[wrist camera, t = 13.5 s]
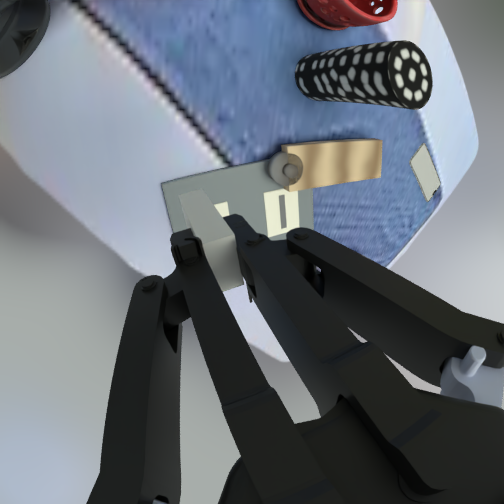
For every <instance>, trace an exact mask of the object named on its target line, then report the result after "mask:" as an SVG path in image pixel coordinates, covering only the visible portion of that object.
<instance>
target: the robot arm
mask: <svg viewBox="0 0 504 504" xmlns="http://www.w3.org/2000/svg"><path fill="white" fill-rule="evenodd" d="M49 18H50V5H49V2H48V0H0V78H1V77H3V76H6V75H8V74H9V73H11V72H13V71H14V70H15V69H17V68H18V67H19V66H20V65H22V64H23V63H24V62H25V61H26V60H27V59H28V58H29V56H30V55H31V54H32V53H33V52H34V50H35V49H36V48H37V46H38V45H39V43H40V41H41V40H42V38H43V36H44V34H45V31H46V29H47V26H48V23H49ZM179 199H180V202H181V206H182V210H183V214H184V218H185V221H186V225H187V229H185V230H182V231H178V232H175V233H173V234H172V236H171V238H170V241H171V245H172V246H171V252H172V255H173V258H174V261H175V264H176V269H175V270H174V272H173V273H172V274H171V275H169V276H168V277H166V278H164V279H163V278H162V277H161V276H158V275H151V276H147V277H145V278H143V279H141V280H140V281H139V282H138V283H137V284H136V286H135V288H134V290H133V294H132V297H131V301H130V305H129V309H128V312H127V317H126V320H125V324H124V328H123V332H122V336H121V340H120V345H119V349H118V354H117V358H116V363H115V368H114V373H113V378H112V383H111V389H110V395H109V400H108V407H107V413H106V420H105V427H104V435H103V443H102V453H101V464H100V473H99V476H98V478H97V480H96V483H95V485H94V487H93V489H92V492H91V494H90V496H89V499H88V501H87V503H86V504H179V502H180V496H181V466H180V465H181V464H180V370H181V345H182V322H183V321H185V320H186V319H188V318H190V317H191V318H192V321H193V325H194V328H195V331H196V334H197V337H198V340H199V343H200V346H201V349H202V352H203V355H204V358H205V361H206V364H207V367H208V369H209V372H210V375H211V378H212V380H213V383H214V386H215V389H216V391H217V394H218V397H219V399H220V402H221V405H222V410H223V413H224V416H225V419H226V421H227V423H228V426H229V428H230V431H231V433H232V436H233V438H234V440H235V443H236V445H237V448H238V450H239V452H240V455H241V457H240V458H239V459H238V460H237V461H236V463H235V464H234V466H233V467H232V469H231V471H230V472H229V475H228V477H227V480H226V483H225V485H224V488H223V491H222V494H221V497H220V499H219V502H218V504H504V410H503V409H501V405H502V397H503V387H504V324H502V323H499V322H495V321H492V320H489V319H485V318H482V317H478V316H475V315H472V314H468V313H465V312H462V311H460V310H459V309H457V308H455V307H454V306H452V305H450V304H449V303H447V302H445V301H444V300H442V299H440V298H439V297H437V296H435V295H433V294H431V293H430V292H428V291H426V290H425V289H423V288H421V287H419V286H418V285H416V284H414V283H412V282H411V281H409V280H407V279H405V278H403V277H402V276H400V275H398V274H396V273H394V272H393V271H391V270H389V269H387V268H385V267H383V266H381V265H380V264H378V263H376V262H374V261H372V260H370V259H368V258H367V257H365V256H363V255H361V254H359V253H357V252H355V251H353V250H351V249H349V248H347V247H346V246H344V245H342V244H340V243H338V242H336V241H334V240H332V239H330V238H328V237H326V236H324V235H322V234H320V233H318V232H316V231H314V230H312V229H309V228H304V227H299V228H294V229H291V230H290V231H288V232H287V234H286V239H284V240H270V239H269V238H268V237H267V236H266V235H264V234H261V233H256V231H255V230H254V229H253V228H252V227H251V226H250V225H249V223H248V222H247V221H246V220H245V219H244V218H243V216H241V215H238V214H232V215H229V216H225V217H222V216H221V215H220V213H219V212H218V210H217V209H216V208H215V206H214V205H213V203H212V202H211V201H210V199H209V198H208V196H207V195H206V193H205V192H204V191H203V189H199V190H195V191H192V192H188V193H185V194H181V195H179ZM316 266H317V267H319V268H320V269H321V272H320V271H318V270H316ZM243 277H244V279H245V281H246V284H247V290H248V295H249V300H250V303H251V302H252V299H253V300H254V302H255V304H256V305H257V307H258V309H259V310H260V312H261V314H262V315H263V317H264V319H265V320H266V322H267V324H268V325H269V327H270V329H271V330H272V332H273V334H274V335H275V337H276V339H277V340H278V342H279V344H280V345H281V347H282V349H283V350H284V352H285V353H286V355H287V357H288V358H289V360H290V362H291V363H292V365H293V366H294V368H295V370H296V371H297V373H298V374H299V376H300V378H301V379H302V381H303V383H304V384H305V386H306V387H307V389H308V391H309V392H310V394H311V395H312V397H313V399H314V400H315V402H316V404H317V406H318V409H319V413H320V416H321V418H319V419H315V420H311V421H306V422H302V423H297V424H294V422H293V420H292V419H291V417H290V415H289V413H288V411H287V410H286V408H285V406H284V404H283V403H282V401H281V399H280V397H279V396H278V394H277V392H276V391H275V389H274V388H272V387H270V385H269V384H268V382H267V380H266V378H265V376H264V374H263V372H262V371H261V369H260V367H259V365H258V363H257V361H256V359H255V357H254V355H253V353H252V351H251V349H250V347H249V345H248V343H247V341H246V339H245V337H244V335H243V333H242V331H241V329H240V327H239V325H238V323H237V321H236V319H235V317H234V315H233V313H232V311H231V309H230V307H229V305H228V303H227V301H226V299H225V296H224V294H223V291H226V290H229V289H232V288H235V287H238V286H241V285H244V281H243ZM348 327H349V328H350V329H351V330H353V331H354V332H355V333H357V334H358V335H360V336H361V337H363V338H364V339H365V340H367V341H368V342H365V343H362V342H360V341H359V340H358V339H357V338H356V337H355V336H354V335H353V333H352V332H351V331H350V330H349V329H348ZM384 353H385V354H386V355H388V356H389V357H390V358H392V359H393V360H394V361H396V362H397V363H398V364H400V365H401V366H403V367H404V368H405V369H407V370H409V371H410V372H411V373H413V374H414V375H416V376H417V377H419V378H421V379H422V380H424V381H426V382H428V383H430V384H432V385H435V386H438V387H440V388H441V389H442V390H441V393H440V394H436V393H432V392H428V391H424V390H420V389H416V388H413V387H412V385H411V384H410V383H409V382H408V381H407V380H406V378H405V377H404V376H403V375H402V374H401V373H400V371H399V370H398V369H397V368H396V367H395V366H394V364H393V363H392V362H391V361H390V360H389V359H388V358H387V356H386V355H385V354H384Z"/></svg>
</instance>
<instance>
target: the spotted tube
mask: <svg viewBox="0 0 504 504" xmlns="http://www.w3.org/2000/svg"><path fill="white" fill-rule="evenodd" d="M295 79H296V83H297V86H298V88H299V89H300V91H301V92H302V93H303V94H304V95H305V96H306V97H308V98H310V99H312V100H316V101H337V102H353V103H365V104H375V105H384V106H392V107H399V108H406V109H413V110H417V109H420V108H422V107H424V106H425V105H426V103H427V102H428V100H429V98H430V96H431V92H432V72H431V68H430V65H429V63H428V60H427V58H426V56H425V55H424V53H423V52H422V50H421V49H420V48H419V47H418V46H416V45H415V44H414V43H412V42H410V41H405V40H403V41H391V42H381V43H372V44H365V45H358V46H351V47H346V48H340V49H335V50H329V51H325V52H320V53H315V54H311V55H307V56H305V57H303V58H302V59H301V60H300V61H299V63H298V64H297V66H296V70H295Z"/></svg>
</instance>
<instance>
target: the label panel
mask: <svg viewBox="0 0 504 504" xmlns="http://www.w3.org/2000/svg"><path fill="white" fill-rule="evenodd" d="M269 160H270V159H267V160H261V161H256V162H251V163H246V164H241V165H236V166H231V167H226V168H222V169H217V170H213V171H208V172H204V173H199V174H195V175H191V176H187V177H183V178H179V179H175V180H171V181H167V182H164V183H161V184H162V188H163V192H164V197H165V201H166V205H167V209H168V213H169V217H170V221H171V225H172V229H173V232H174V233H175V232H178V231H182V230H185V229H187V225H186V221H185V218H184V214H183V210H182V206H181V202H180V199H179V195H181V194H185V193H188V192H192V191H195V190H199V189H203V191H204V192H205V193H206V195H207V196H208V198H209V199H210V201H211V202H212V203H213V205H214V206H215V208H216V209H217V210H218V212H219V213H220V215H221V216H222V217H225V216H229V215H232V214H238V215H241V216H243V218H244V219H245V220H246V221H247V222H248V223H249V225H250V226H251V227H252V228H253V229H254V230H255V231H256V233H261V234H264V235H266V236H267V237H268V238H269V239H270V240H284V239H286V234H287V232H288V231H290V230H291V229H294V228H299V227H304V228H309V229H312V230H314V229H313V189H312V188H310V189H304V190H299V191H293V192H288V191H287V190H285V189H284V186H283V185H280V184H279V183H277V182H275V181H274V180H272V179H271V178H270V176H269V174H268V170H267V167H268V162H269Z"/></svg>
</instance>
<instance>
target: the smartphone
mask: <svg viewBox="0 0 504 504" xmlns="http://www.w3.org/2000/svg"><path fill="white" fill-rule="evenodd" d="M409 164H410V166H411V168H412V171H413V173H414V175H415V177H416V179H417V181H418V184H419V186H420V188H421V191H422V193H423V195H424V198H425V200H426V202H429V201H430V199H431V198H432V196H433V195H434V194H435V192H436V191H437V189H438V188H439V186H440V179H439V177H438V174H437V171H436V169H435V166H434V164H433V161H432V159H431V156H430V154H429V151H428V149H427V147H426V144H425V143H422V144H421V146H420V147H419V148H418V150H417V151H416V152H415V154H414V155H413V156H412V158H411V159H410V161H409Z"/></svg>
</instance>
